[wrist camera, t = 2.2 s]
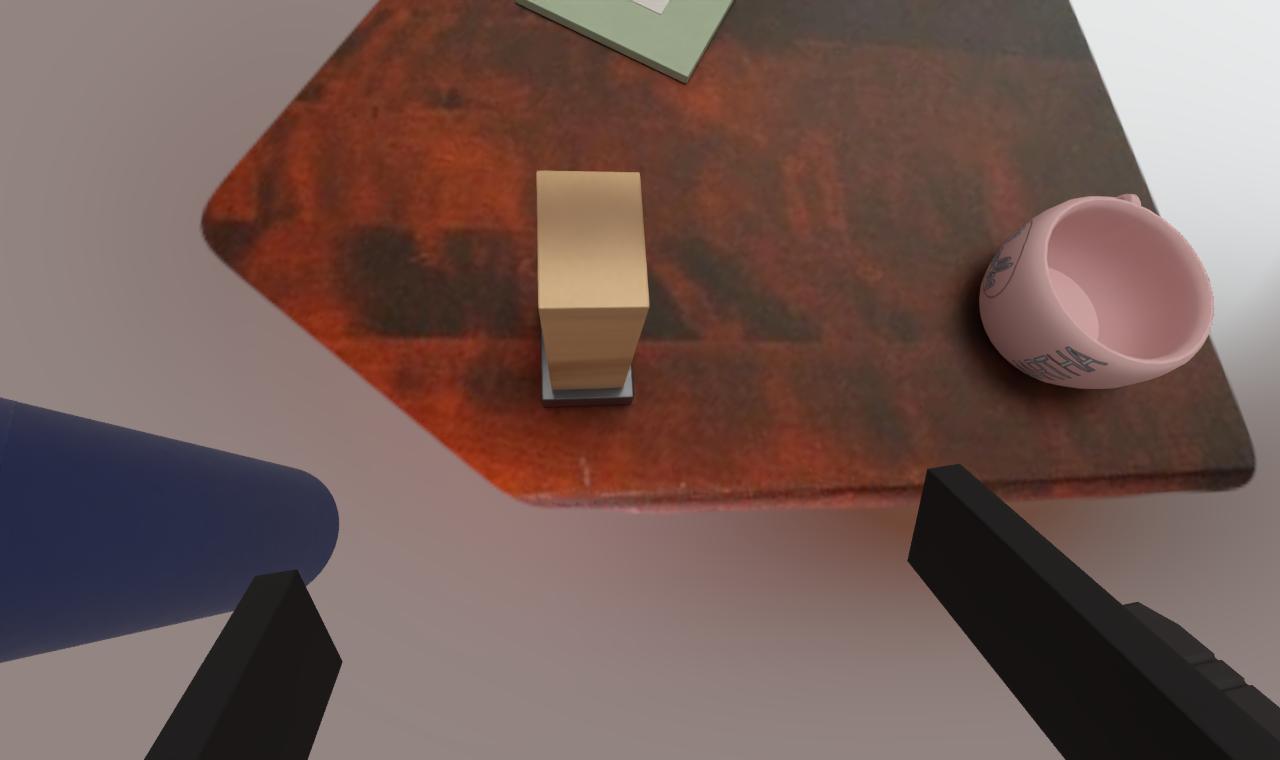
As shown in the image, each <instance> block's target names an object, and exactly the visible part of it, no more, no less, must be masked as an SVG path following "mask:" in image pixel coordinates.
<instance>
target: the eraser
mask: <svg viewBox="0 0 1280 760" xmlns="http://www.w3.org/2000/svg"><path fill="white" fill-rule="evenodd" d="M536 180H537V253H538V309H539V315H540V335H541V400H542V404H543V407H566V406H595V405H623V404H631V402H632V400H633V398H634V389H633V373H632V359H633V356H634V353H635V350H636V347H637V344H638V340H639V337H640V334H641V331H642V328H643V325H644V322H645V319H646V316H647V313H648V309H649V292H648V278H647V264H646V251H645V237H644V223H643V209H642V195H641V181H640V173H636V172H581V171H537V172H536Z"/></svg>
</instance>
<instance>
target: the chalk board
mask: <svg viewBox="0 0 1280 760" xmlns="http://www.w3.org/2000/svg"><path fill="white" fill-rule="evenodd" d="M733 2H734V0H516V3H518V4H520V5H522V6H524V7H526V8H528V9H530V10H532V11H534V12H536V13H539V14H541V15H543V16H545V17H547V18H549V19H551V20H553V21H555V22H557V23H559V24H562V25H564V26H566V27H568V28H570V29H572V30H574V31H576V32H578V33H580V34H582V35H585V36H587V37H589V38H591V39H593V40H595V41H597V42H599V43H601V44H603V45H605V46H608V47H610V48H612V49H614V50H616V51H618V52H620V53H622V54H624V55H626V56H628V57H631V58H633V59H635V60H637V61H639V62H641V63H643V64H645V65H647V66H649V67H651V68H654V69H656V70H658V71H660V72H662V73H664V74H666V75H668V76H670V77H672V78H674V79H677V80H679V81H681V82H683V83H685V84H686V83H687V82H688V80H689V78H690V77H691V75H692V73H693V71H694V70H695V68H696V66H697V64H698V63H699V61H700V59H701V58H702V56H703V54H704V52H705V51H706V49H707V47H708V45H709V44H710V42H711V40H712V38H713V37H714V35H715V33H716V31H717V30H718V28H719V26H720V25H721V23H722V21H723V19H724V18H725V16H726V14H727V12H728V11H729V9H730V7H731V5H732V4H733Z"/></svg>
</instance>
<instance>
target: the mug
mask: <svg viewBox="0 0 1280 760" xmlns="http://www.w3.org/2000/svg"><path fill="white" fill-rule="evenodd" d="M1213 303H1214V302H1213V293H1212V289H1211V285H1210V281H1209V278H1208V275H1207V273H1206V271H1205V269H1204V266H1203V264H1202V262H1201V260H1200V259H1199V257H1198V256H1197V254H1196V253H1195V251H1194V249H1193V248H1192V246H1191V245H1190V244H1189V243H1188V242H1187V241H1186V240H1185V238H1184V237H1183V236H1182V235H1181V234H1180V233H1179V232H1178V231H1177V230H1176V229H1175V228H1174V227H1172V226H1171V225H1170V224H1169V223H1168V222H1166V221H1165V220H1164V219H1163V218H1161V217H1159V216H1158V215H1156V214H1155V213H1153V212H1151V211H1150V210H1148V209H1146V208H1144V207H1141V201H1140V200H1139V198H1138V196H1137V195H1134V194H1123V195H1120V196H1117V197H1115V198H1113V197H1100V196H1091V197H1083V198H1077V199H1071V200H1069V201H1066V202H1064V203H1062V204H1059V205H1057V206H1055V207H1052V208H1050V209H1048V210H1046V211H1044V212H1042V213H1041V214H1039V215H1037V216H1036V217H1034V218H1033V219H1031V220H1030V221H1029V222H1027V223H1026V224H1025V225H1023V226H1022V227H1021V228H1019V229H1018V230H1017V231H1016V232H1014V233H1013V234H1012V235H1011V236H1010V237H1009V238H1008V239H1007V240H1006V241H1005V242H1004V244H1003V245H1002V246H1001V248H1000V249H999V250H998V252H997V253H996V254H995V256H994V258H993V260H992V261H991V263H990V265H989V267H988V269H987V271H986V273H985V276H984V278H983V281H982V284H981V288H980V296H979V307H980V316H981V319H982V322H983V326H984V329H985V331H986V333H987V335H988V337H989V339H990V341H991V343H992V344H993V345H994V346H995V348H996V349H997V350H998V352H999V353H1000V354H1001V355H1002V356H1003V357H1004V358H1005V359H1006V360H1007V361H1008V362H1009V363H1010V364H1012V365H1013V366H1014V367H1016V368H1017V369H1019V370H1020V371H1022V372H1023V373H1025V374H1027V375H1029V376H1031V377H1033V378H1036V379H1038V380H1040V381H1043V382H1046V383H1050V384H1055V385H1059V386H1066V387H1072V388H1080V389H1109V388H1118V387H1122V386H1126V385H1130V384H1135V383H1139V382H1143V381H1147V380H1150V379H1153V378H1156V377H1159V376H1162V375H1164V374H1166V373H1168V372H1170V371H1172V370H1174V369H1175V368H1177V367H1179V366H1181V365H1183V364H1185V363H1186V362H1188V361H1189V360H1190V359H1191V358H1192V357H1193V356H1194V355H1195V354H1196V353H1197V352H1198V351H1199V349H1200V348H1201V347H1202V346H1203V344H1204V342H1205V340H1206V338H1207V337H1208V335H1209V333H1210V330H1211V325H1212V320H1213V315H1214V305H1213Z"/></svg>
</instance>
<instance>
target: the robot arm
mask: <svg viewBox="0 0 1280 760" xmlns="http://www.w3.org/2000/svg"><path fill="white" fill-rule="evenodd" d="M908 562H909V563H910V564H911V566H912V567H913V568H914V570H915V571H916V572H917V574H918V575H919V576H920V577H921V579H922V580H923V581H924V582H925V584H926V585H927V586H928V587H929V589H930V590H931V591H932V592H933V594H934V595H935V596H936V597H937V599H938V600H939V601H940V602H941V604H942V605H943V606H944V607H945V609H946V610H947V611H948V613H949V614H950V615H951V616H952V618H953V619H954V620H955V621H956V623H957V624H958V625H959V626H960V628H961V629H962V630H963V631H964V633H965V634H966V635H967V636H968V638H969V639H970V640H971V641H972V643H973V644H974V645H975V646H976V648H977V649H978V650H979V651H980V653H981V654H982V655H983V657H984V658H985V659H986V660H987V662H988V663H989V664H990V665H991V667H992V668H993V669H994V670H995V672H996V673H997V674H998V675H999V677H1000V678H1001V679H1002V680H1003V682H1004V683H1005V684H1006V686H1007V687H1008V688H1009V689H1010V691H1011V692H1012V693H1013V694H1014V695H1015V697H1016V698H1017V699H1018V701H1019V702H1020V703H1021V704H1022V706H1023V707H1024V708H1025V709H1026V711H1027V712H1028V713H1029V714H1030V716H1031V717H1032V718H1033V720H1034V721H1035V722H1036V723H1037V725H1038V726H1039V727H1040V728H1041V730H1042V731H1043V732H1044V733H1045V735H1046V736H1047V737H1048V738H1049V740H1050V741H1051V742H1052V743H1053V745H1054V746H1055V747H1056V748H1057V750H1058V751H1059V752H1060V753H1061V755H1062V756H1063V757H1064V758H1065V760H1280V708H1279V707H1278V706H1277V705H1276V704H1275V703H1273V702H1272V701H1271V700H1270V699H1269V698H1267V697H1266V696H1265V695H1263V694H1262V693H1261V692H1260V691H1259V690H1258V689H1256V688H1255V687H1254V686H1253V685H1247V684H1246V683H1245V681H1244V678H1243V677H1242V676H1240V675H1239V674H1238V673H1237V672H1236V671H1234V670H1233V669H1232V668H1231V667H1230V666H1228V665H1227V664H1226V663H1225V662H1224V661H1222V660H1217V659H1216V658H1215V656H1214V653H1213V652H1211V651H1210V650H1209V649H1208V648H1206V647H1205V646H1204V645H1203V644H1202V643H1200V642H1199V641H1198V640H1197V639H1196V638H1194V637H1193V636H1192V635H1191V634H1189V633H1188V632H1187V631H1186V630H1185V629H1183V628H1182V627H1181V626H1180V625H1178V624H1176V623H1175V622H1173V621H1171V620H1169V619H1168V618H1166V617H1164V616H1162V615H1160V614H1159V613H1157V612H1155V611H1153V610H1151V609H1150V608H1148V607H1146V606H1144V605H1143V604H1141V603H1139V602H1135V603H1130V604H1125V605H1122V604H1121V603H1120V602H1118V601H1117V600H1116V599H1115V598H1114V597H1112V596H1111V595H1110V594H1109V593H1108V592H1107V591H1106V590H1105V589H1103V588H1102V587H1101V586H1100V585H1099V584H1098V583H1096V582H1095V581H1094V580H1093V579H1092V578H1091V577H1090V576H1088V575H1087V574H1086V573H1085V572H1084V571H1083V570H1081V569H1080V568H1079V567H1078V566H1077V565H1076V564H1075V563H1073V562H1072V561H1071V560H1070V559H1069V558H1067V557H1066V556H1065V555H1064V554H1063V553H1062V552H1061V551H1060V550H1058V549H1057V548H1056V547H1055V546H1054V545H1053V544H1052V543H1050V542H1049V541H1048V540H1047V539H1046V538H1045V537H1043V536H1042V535H1041V534H1040V533H1039V532H1038V531H1036V530H1035V529H1034V528H1033V527H1032V526H1031V525H1030V524H1028V523H1027V522H1026V521H1025V520H1024V519H1023V518H1022V517H1020V516H1019V515H1018V514H1017V513H1015V511H1013V510H1012V509H1011V508H1010V507H1009V506H1008V505H1007V504H1005V503H1004V502H1003V501H1002V500H1001V499H1000V498H999V497H997V496H996V495H995V494H994V493H993V492H992V491H990V490H989V489H988V488H987V487H986V486H985V485H984V484H982V483H981V482H980V481H979V480H978V479H977V478H975V477H974V476H973V475H972V474H971V473H970V472H969V471H967V470H966V469H965V468H964V467H963V466H962V465H960V464H955V465H949V466H943V467H937V468H930V469H927V474H926V478H925V483H924V487H923V492H922V497H921V501H920V506H919V511H918V515H917V519H916V524H915V529H914V533H913V538H912V542H911V547H910V552H909V557H908ZM341 665H342V660H341V658H340V655H339V654H338V651H337V650H336V647H335V645H334V644H333V641H332V639H331V637H330V635H329V633H328V631H327V629H326V627H325V625H324V623H323V621H322V619H321V617H320V615H319V613H318V611H317V609H316V607H315V605H314V603H313V601H312V598H311V596H310V594H309V592H308V591H307V588H306V586H305V584H304V582H303V580H302V578H301V576H300V574H299V572H298V570H291V571H285V572H279V573H273V574H266V575H260V576H255V578H254V579H253V581H252V582H251V584H250V586H249V587H248V589H247V591H246V592H245V594H244V596H243V597H242V599H241V601H240V602H239V604H238V606H237V607H236V609H235V610H234V612H233V614H232V615H231V617H230V619H229V621H228V622H227V624H226V625H225V627H224V629H223V631H222V632H221V634H220V635H219V637H218V638H217V640H216V642H215V644H214V645H213V647H212V649H211V650H210V652H209V654H208V655H207V657H206V658H205V660H204V662H203V663H202V665H201V667H200V668H199V670H198V671H197V673H196V675H195V676H194V678H193V680H192V681H191V683H190V685H189V686H188V688H187V690H186V691H185V693H184V695H183V696H182V698H181V700H180V701H179V703H178V704H177V706H176V708H175V709H174V711H173V713H172V714H171V716H170V718H169V719H168V721H167V723H166V724H165V726H164V728H163V729H162V731H161V732H160V734H159V736H158V737H157V739H156V741H155V742H154V744H153V746H152V747H151V749H150V751H149V752H148V754H147V756H146V757H145V759H144V760H308V757H309V754H310V751H311V749H312V745H313V743H314V740H315V737H316V735H317V731H318V729H319V726H320V723H321V721H322V718H323V715H324V712H325V710H326V706H327V704H328V701H329V698H330V695H331V693H332V690H333V687H334V684H335V682H336V679H337V676H338V673H339V670H340V667H341Z"/></svg>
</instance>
